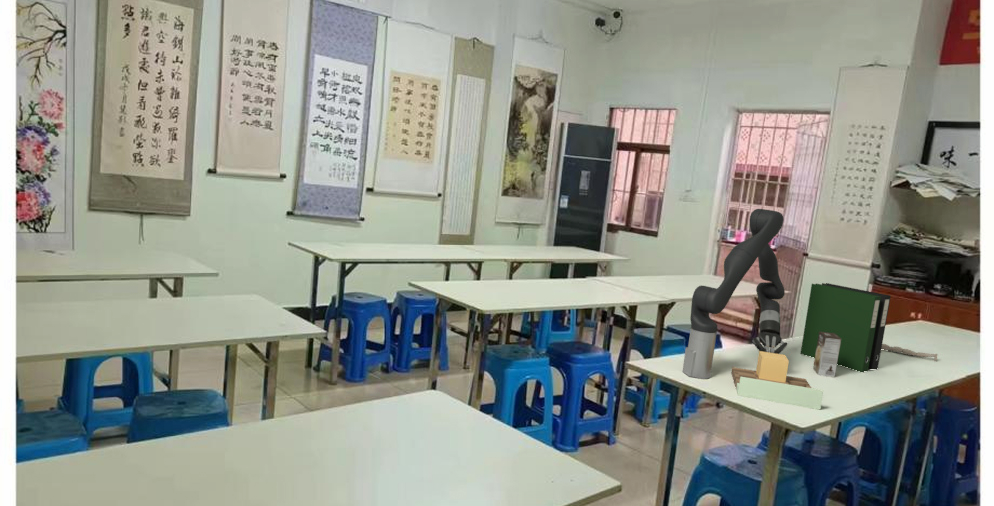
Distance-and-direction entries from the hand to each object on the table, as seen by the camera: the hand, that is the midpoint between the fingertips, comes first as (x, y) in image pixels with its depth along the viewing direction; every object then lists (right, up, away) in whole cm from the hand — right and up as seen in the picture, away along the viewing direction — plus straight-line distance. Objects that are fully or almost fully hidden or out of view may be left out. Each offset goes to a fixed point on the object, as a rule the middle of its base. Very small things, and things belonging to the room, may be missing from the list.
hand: (769, 362), depth 249 cm
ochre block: (-2, -4, -6) cm, 7 cm away
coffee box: (+29, -7, +17) cm, 34 cm away
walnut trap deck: (-4, -8, -13) cm, 16 cm away
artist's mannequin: (+90, -8, +67) cm, 113 cm away
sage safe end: (-7, -9, -23) cm, 26 cm away
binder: (+46, -6, +39) cm, 61 cm away
